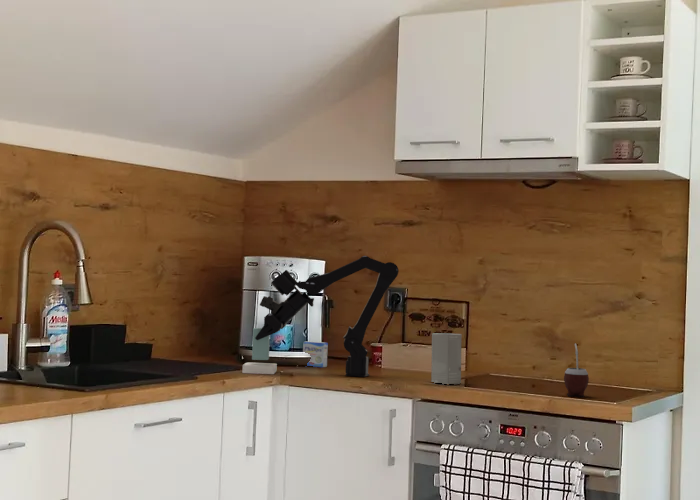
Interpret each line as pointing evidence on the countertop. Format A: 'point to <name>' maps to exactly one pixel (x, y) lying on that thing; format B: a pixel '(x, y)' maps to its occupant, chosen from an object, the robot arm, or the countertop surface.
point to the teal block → (260, 346)
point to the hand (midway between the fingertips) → (256, 338)
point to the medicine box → (316, 353)
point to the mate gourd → (576, 380)
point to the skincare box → (446, 358)
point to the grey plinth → (259, 368)
